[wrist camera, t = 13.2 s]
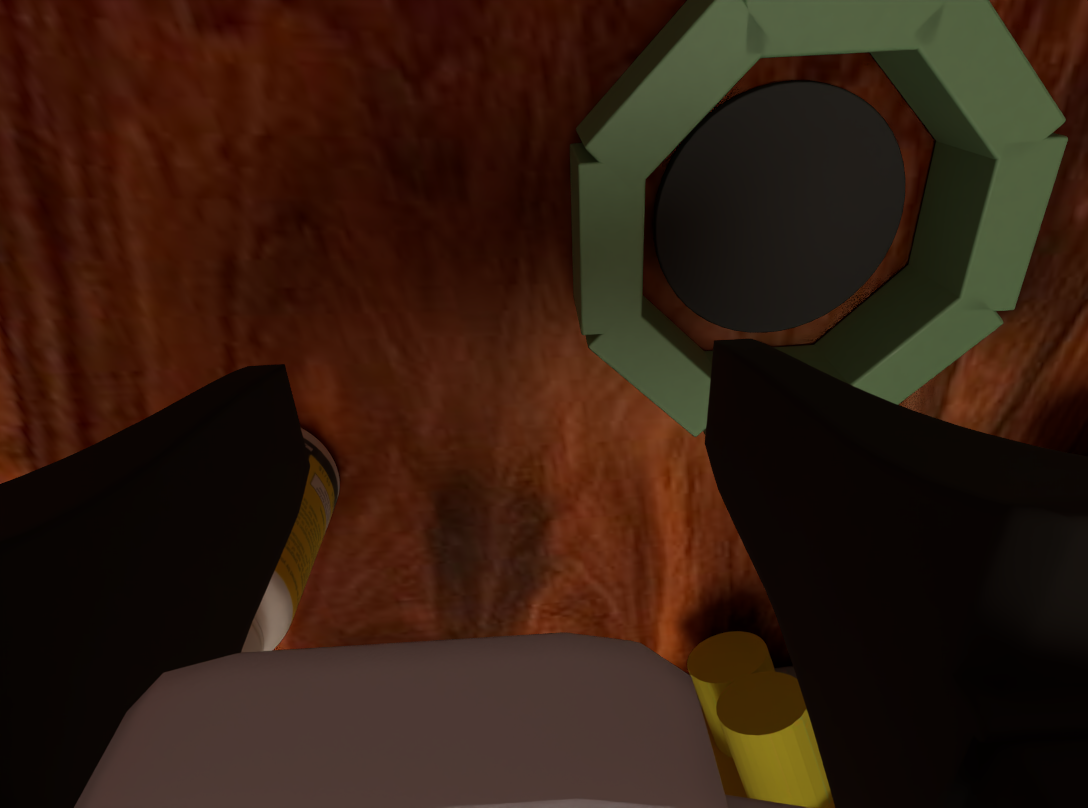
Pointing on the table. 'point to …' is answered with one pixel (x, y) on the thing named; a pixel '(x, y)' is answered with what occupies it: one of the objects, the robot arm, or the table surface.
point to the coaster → (779, 206)
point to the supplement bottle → (297, 551)
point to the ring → (946, 213)
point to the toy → (757, 723)
